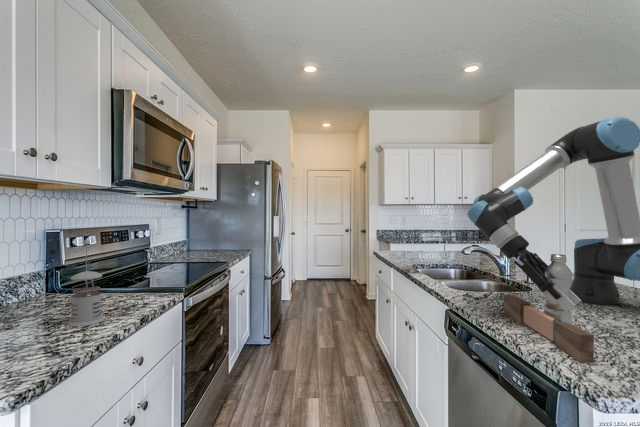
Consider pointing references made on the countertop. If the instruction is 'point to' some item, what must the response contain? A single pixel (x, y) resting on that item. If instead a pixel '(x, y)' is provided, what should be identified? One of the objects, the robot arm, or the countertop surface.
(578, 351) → the row of wooden blocks
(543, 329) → the gate
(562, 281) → the plastic bottle
